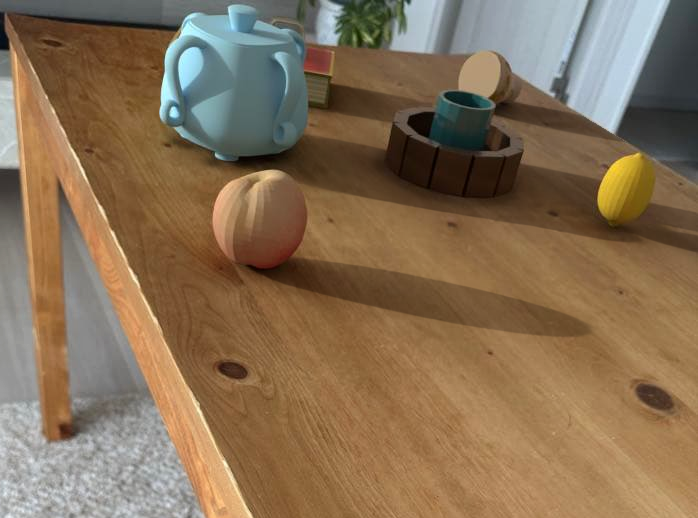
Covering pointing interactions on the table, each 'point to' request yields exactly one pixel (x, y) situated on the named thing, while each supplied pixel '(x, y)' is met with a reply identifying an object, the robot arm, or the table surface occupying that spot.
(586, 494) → the table surface
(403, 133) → the ring
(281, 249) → the fruit
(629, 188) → the lemon
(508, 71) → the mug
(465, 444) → the table surface
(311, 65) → the hardcover book
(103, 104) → the table surface
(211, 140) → the decorative pot
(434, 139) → the tumbler
